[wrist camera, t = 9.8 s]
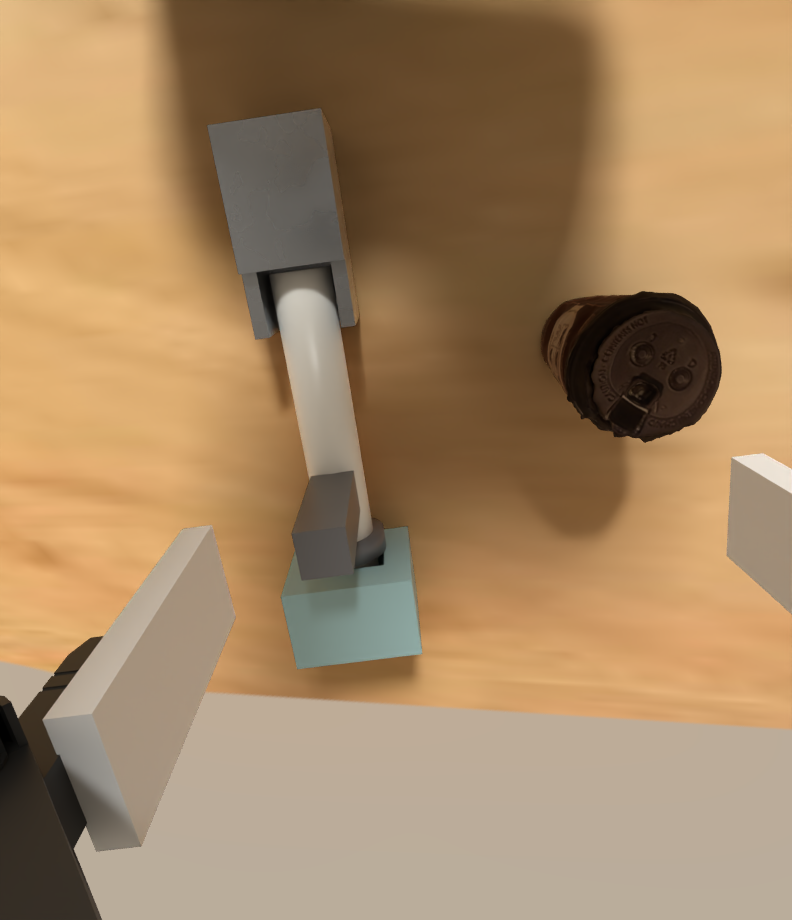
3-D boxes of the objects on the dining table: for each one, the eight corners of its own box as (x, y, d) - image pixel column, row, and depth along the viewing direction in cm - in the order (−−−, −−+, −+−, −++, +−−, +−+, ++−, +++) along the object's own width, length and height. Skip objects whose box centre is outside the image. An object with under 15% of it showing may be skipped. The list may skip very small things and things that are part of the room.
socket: (298, 540, 49) (280, 596, 41) (407, 526, 49) (411, 580, 41) (311, 603, 51) (297, 669, 43) (416, 590, 51) (422, 653, 43)
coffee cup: (539, 413, 46) (595, 472, 34) (507, 308, 44) (554, 331, 31) (651, 373, 45) (750, 419, 33) (625, 263, 43) (722, 269, 30)
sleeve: (235, 144, 40) (206, 125, 34) (331, 130, 40) (320, 107, 33) (271, 328, 44) (252, 341, 37) (359, 316, 44) (354, 327, 37)
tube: (265, 274, 42) (211, 285, 29) (345, 263, 42) (326, 268, 29) (327, 586, 50) (306, 703, 37) (393, 578, 50) (396, 692, 37)
